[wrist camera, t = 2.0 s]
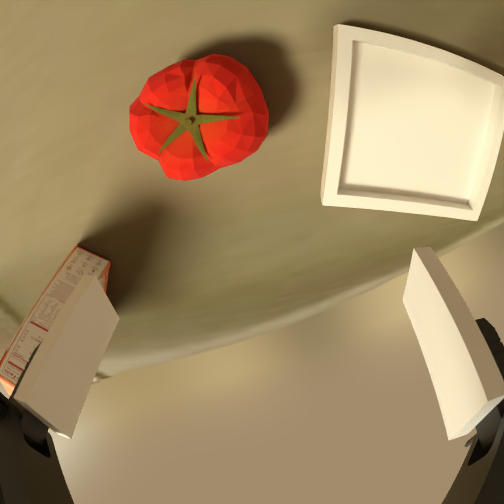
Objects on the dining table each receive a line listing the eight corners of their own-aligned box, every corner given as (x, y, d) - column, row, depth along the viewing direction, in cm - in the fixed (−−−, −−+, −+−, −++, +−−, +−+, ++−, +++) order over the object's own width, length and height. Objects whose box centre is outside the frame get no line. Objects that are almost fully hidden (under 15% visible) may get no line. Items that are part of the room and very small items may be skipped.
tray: (333, 26, 19) (338, 24, 17) (499, 76, 18) (511, 80, 16) (319, 195, 29) (322, 205, 27) (468, 212, 28) (477, 221, 26)
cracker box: (105, 320, 44) (57, 434, 27) (74, 305, 42) (20, 413, 26) (114, 260, 36) (40, 404, 19) (76, 242, 35) (-10, 373, 18)
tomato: (284, 133, 25) (286, 156, 20) (179, 176, 29) (157, 208, 23) (238, 36, 20) (227, 29, 15) (132, 92, 24) (96, 106, 18)
